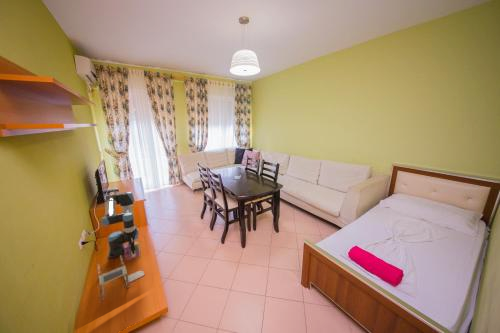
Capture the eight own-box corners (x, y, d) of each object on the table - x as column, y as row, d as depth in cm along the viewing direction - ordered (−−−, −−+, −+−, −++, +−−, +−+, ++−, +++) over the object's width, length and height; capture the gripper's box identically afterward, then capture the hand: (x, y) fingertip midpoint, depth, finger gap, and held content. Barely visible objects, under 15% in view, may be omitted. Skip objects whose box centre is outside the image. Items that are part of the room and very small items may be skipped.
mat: (127, 276, 160) (127, 276, 160) (142, 269, 168) (142, 269, 168) (129, 282, 153) (128, 282, 153) (144, 275, 161) (144, 274, 161)
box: (125, 260, 152) (123, 248, 150) (126, 256, 157) (124, 244, 155) (139, 256, 157) (138, 244, 155) (140, 252, 162) (138, 241, 160)
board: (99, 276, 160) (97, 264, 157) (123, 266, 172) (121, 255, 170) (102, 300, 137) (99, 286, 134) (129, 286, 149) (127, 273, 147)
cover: (98, 277, 143) (97, 272, 142) (125, 266, 154) (124, 261, 154) (99, 285, 135) (98, 280, 134) (127, 273, 147) (126, 268, 146)
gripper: (122, 228, 157) (126, 251, 161) (126, 237, 143) (130, 262, 147) (132, 225, 162) (135, 247, 166) (137, 233, 148) (140, 257, 152)
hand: (133, 254), depth 156 cm, fingers closed on box, 7 cm apart
